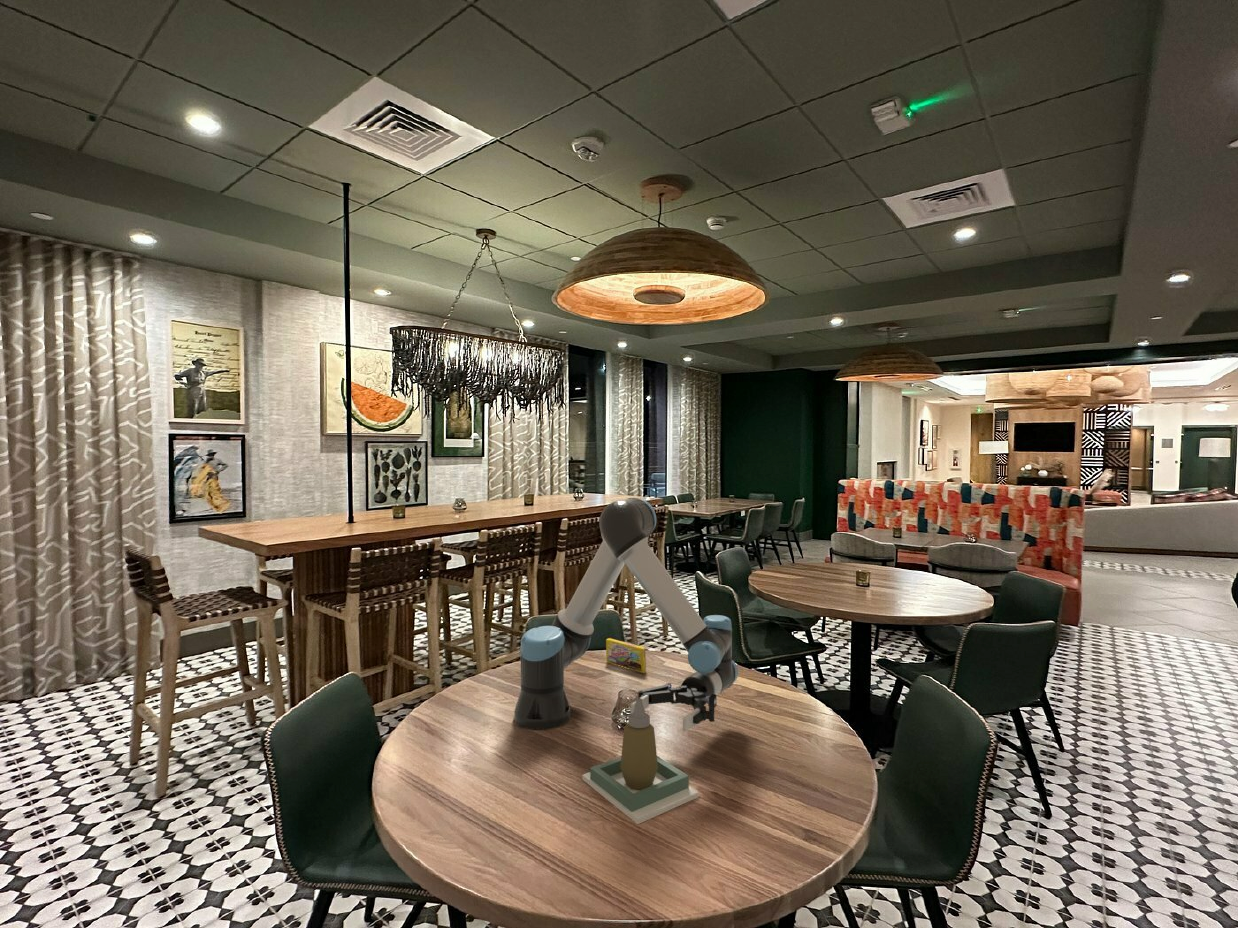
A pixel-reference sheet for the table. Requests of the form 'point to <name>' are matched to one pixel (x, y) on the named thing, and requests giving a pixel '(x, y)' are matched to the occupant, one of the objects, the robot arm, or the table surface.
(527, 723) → the robot arm
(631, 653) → the candy box
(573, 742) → the table surface
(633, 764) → the squeeze bottle
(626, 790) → the collar stand
